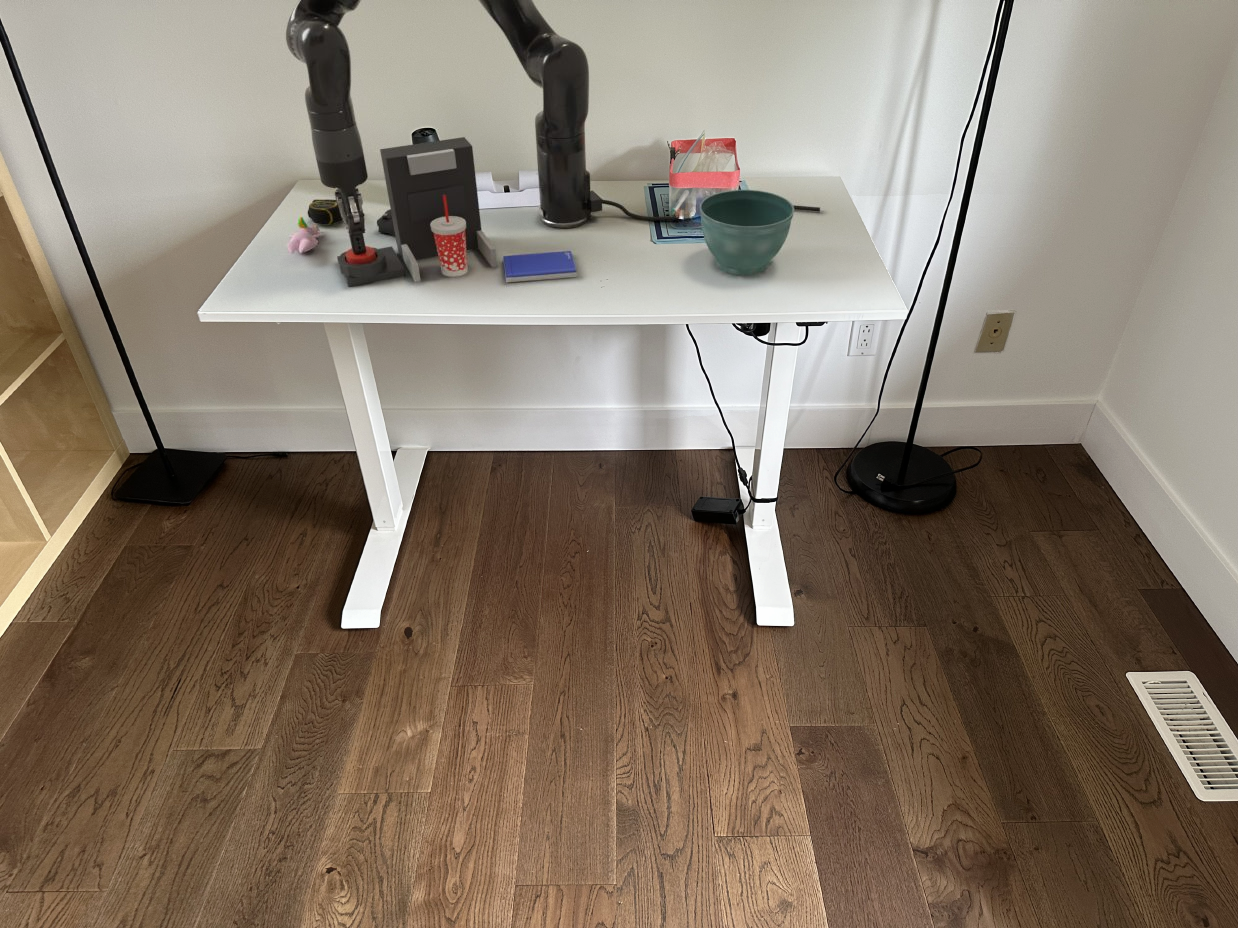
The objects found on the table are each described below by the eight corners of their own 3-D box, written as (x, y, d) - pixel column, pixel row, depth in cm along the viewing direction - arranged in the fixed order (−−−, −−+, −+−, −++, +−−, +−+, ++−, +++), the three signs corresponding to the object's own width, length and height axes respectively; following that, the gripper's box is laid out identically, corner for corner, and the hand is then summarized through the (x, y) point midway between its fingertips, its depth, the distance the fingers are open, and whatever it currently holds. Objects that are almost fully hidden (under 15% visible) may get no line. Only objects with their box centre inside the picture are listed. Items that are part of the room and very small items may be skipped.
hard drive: (571, 249, 158) (502, 254, 156) (576, 269, 152) (505, 275, 150) (571, 257, 159) (503, 263, 157) (576, 277, 152) (506, 283, 151)
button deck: (393, 254, 160) (390, 236, 158) (406, 277, 153) (403, 259, 151) (336, 264, 157) (332, 246, 155) (346, 289, 150) (342, 270, 147)
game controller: (407, 236, 164) (382, 213, 162) (392, 253, 167) (367, 230, 165) (426, 215, 171) (402, 193, 169) (411, 232, 174) (387, 210, 172)
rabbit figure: (296, 241, 168) (280, 263, 155) (290, 210, 165) (273, 230, 152) (329, 239, 168) (316, 261, 156) (323, 208, 165) (309, 228, 153)
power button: (373, 253, 155) (371, 244, 153) (379, 264, 151) (377, 255, 150) (345, 258, 153) (343, 249, 152) (350, 270, 149) (348, 260, 148)
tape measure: (351, 215, 174) (347, 197, 172) (340, 229, 169) (336, 210, 167) (317, 214, 175) (313, 196, 172) (306, 228, 169) (301, 210, 167)
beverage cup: (462, 281, 152) (452, 204, 143) (431, 276, 153) (419, 199, 144) (477, 266, 156) (468, 190, 147) (447, 261, 158) (436, 186, 149)
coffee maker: (476, 237, 166) (464, 137, 154) (497, 266, 156) (486, 162, 144) (398, 251, 161) (379, 149, 149) (415, 282, 151) (397, 175, 139)
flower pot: (685, 276, 153) (687, 218, 146) (711, 240, 164) (715, 184, 158) (774, 292, 148) (782, 232, 141) (795, 253, 160) (803, 196, 153)
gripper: (370, 162, 136) (389, 264, 147) (355, 137, 146) (373, 234, 157) (322, 169, 134) (344, 272, 145) (309, 143, 144) (331, 241, 154)
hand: (359, 252), depth 151 cm, fingers closed
